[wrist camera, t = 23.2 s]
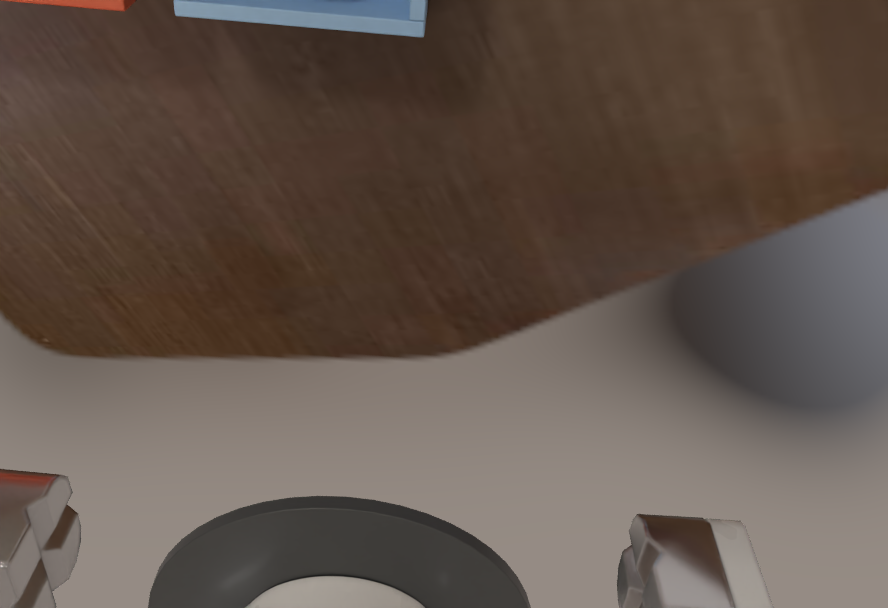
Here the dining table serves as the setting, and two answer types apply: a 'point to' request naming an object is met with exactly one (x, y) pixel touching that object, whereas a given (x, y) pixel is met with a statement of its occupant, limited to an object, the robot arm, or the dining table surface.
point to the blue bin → (317, 14)
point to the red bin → (85, 3)
